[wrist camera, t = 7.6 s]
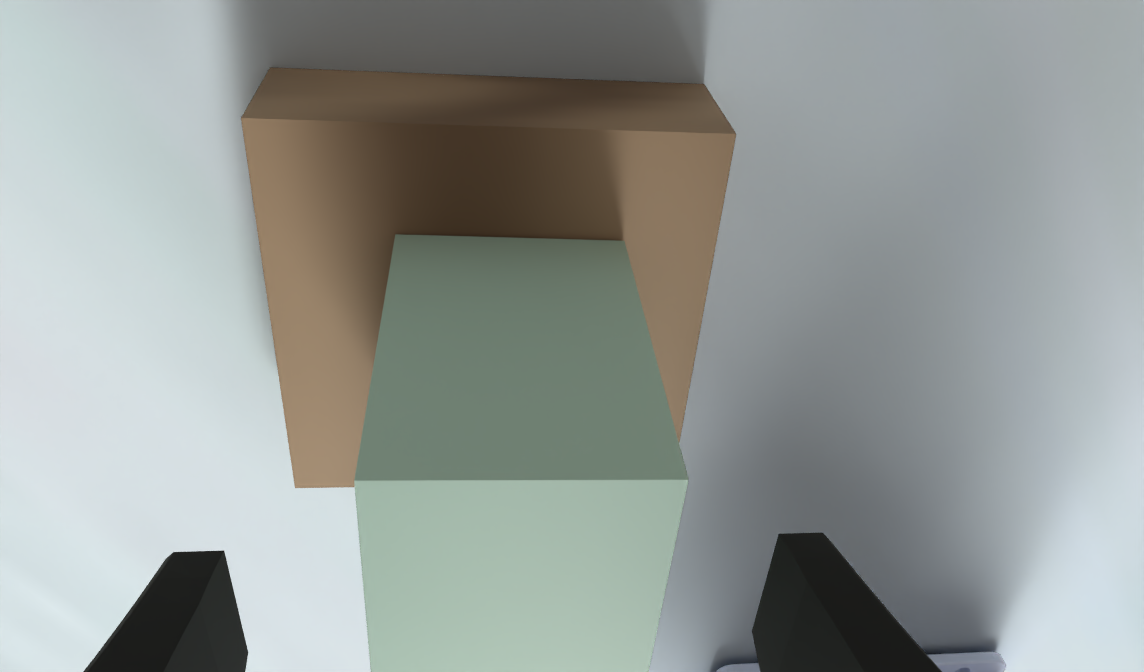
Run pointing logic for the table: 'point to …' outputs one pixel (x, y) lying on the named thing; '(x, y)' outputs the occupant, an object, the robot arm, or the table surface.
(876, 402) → the table surface
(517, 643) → the green block
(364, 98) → the walnut plinth
